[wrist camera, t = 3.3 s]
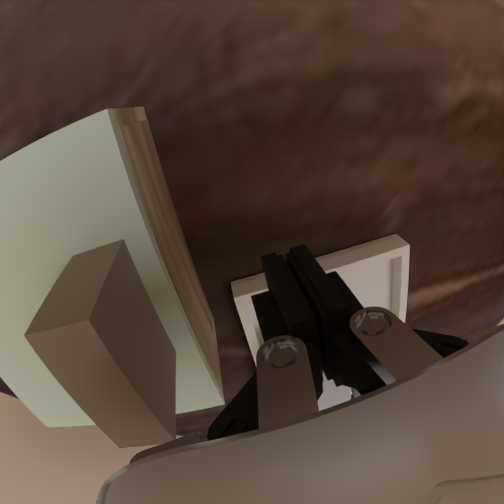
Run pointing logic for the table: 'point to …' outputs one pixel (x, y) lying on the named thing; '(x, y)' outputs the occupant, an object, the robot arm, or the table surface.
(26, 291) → the sage lid
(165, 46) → the table surface
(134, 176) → the birch box
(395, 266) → the white tray
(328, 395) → the granite block
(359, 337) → the robot arm
